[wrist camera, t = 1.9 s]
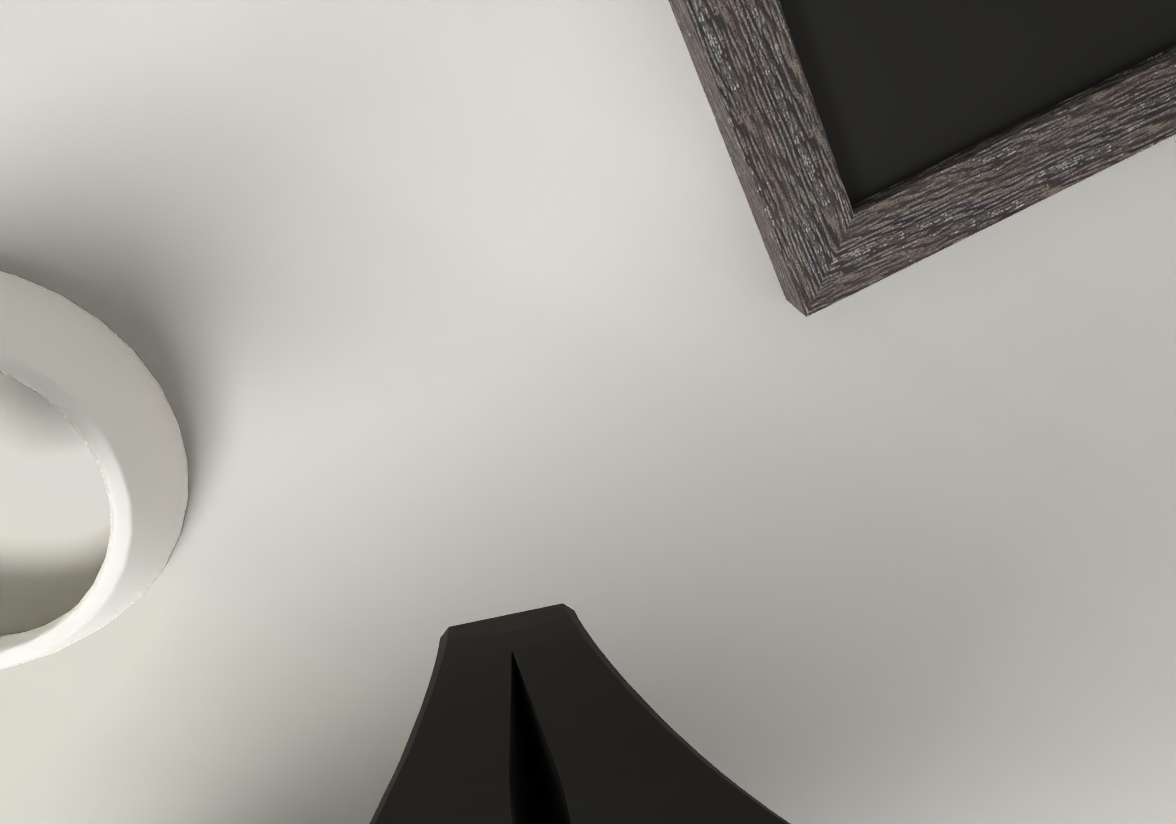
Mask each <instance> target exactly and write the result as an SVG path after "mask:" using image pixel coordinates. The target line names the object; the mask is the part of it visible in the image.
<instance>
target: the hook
mask: <svg viewBox="0 0 1176 824" xmlns="http://www.w3.org/2000/svg"><path fill="white" fill-rule="evenodd" d="M0 371H1V372H3V373H6V374H7V375H9V376H10V377H12V378H14V379H15V380H17V381H19V382H20V383H22V384H24V385H25V386H27V387H29V388H30V389H32V390H34V391H35V392H37V393H38V394H40V395H41V396H42V397H43V398H44V399H45V400H46V401H48V402H49V403H50V404H51V405H52V406H53V407H55V408H56V409H57V410H58V411H59V412H60V413H62V414H63V415H64V416H65V417H66V418H67V420H68V421H69V422H70V423H71V425H72V426H73V427H74V428H75V429H76V431H77V432H78V433H79V434H80V436H81V437H82V438H83V439H84V441H85V442H86V443H87V445H88V447H89V449H90V451H91V453H92V455H93V456H94V458H95V460H96V462H97V464H98V466H99V468H100V470H101V472H102V475H103V479H104V482H105V486H106V490H107V493H108V497H109V500H110V519H111V533H110V538H109V543H108V548H107V553H106V558H105V560H104V562H103V565H102V567H101V569H100V571H99V573H98V575H97V578H96V580H95V582H94V584H93V585H92V587H91V588H90V589H89V590H88V592H87V593H86V594H85V596H84V597H83V598H82V599H81V601H80V602H79V603H78V604H77V606H75V607H74V608H73V609H72V610H71V611H69V612H68V613H66V614H64V615H63V616H61V617H59V618H57V619H55V620H53V621H52V622H50V623H48V624H46V625H44V626H41V627H38V628H35V629H32V630H29V631H26V632H23V633H17V634H10V635H4V636H0V669H4V668H7V667H11V666H15V665H19V664H22V663H25V662H28V661H31V660H34V659H37V658H40V657H43V656H46V655H49V654H52V653H55V652H57V651H59V650H61V649H63V648H65V647H67V646H69V645H71V644H72V643H74V642H76V641H78V640H80V639H82V638H84V637H85V636H87V635H89V634H91V633H93V632H95V631H96V630H98V629H100V628H102V627H104V626H105V625H106V624H108V623H109V622H110V621H112V620H113V619H114V618H115V617H117V616H118V615H119V614H120V613H121V612H123V611H124V610H125V609H126V608H128V607H129V606H130V605H131V604H132V603H134V602H135V601H136V600H137V599H138V598H140V597H141V596H142V595H143V594H144V592H145V591H146V590H147V589H148V587H149V586H150V585H151V584H152V582H153V581H154V580H155V579H156V577H157V576H158V575H159V574H160V572H161V571H162V570H163V569H164V567H165V565H166V563H167V561H168V559H169V557H170V555H171V553H172V551H173V549H174V547H175V545H176V543H177V540H178V538H179V536H180V534H181V529H182V525H183V520H184V515H185V511H186V506H187V502H188V463H187V457H186V453H185V449H184V445H183V441H182V437H181V432H180V428H179V424H178V422H177V420H176V418H175V415H174V413H173V411H172V409H171V407H170V405H169V403H168V401H167V399H166V397H165V395H164V393H163V391H162V389H161V386H160V385H159V384H158V382H157V381H156V380H155V378H154V377H153V376H152V374H151V373H150V372H149V370H148V369H147V368H146V366H145V365H144V364H143V362H142V361H141V360H140V359H139V357H138V356H137V355H136V353H135V352H134V351H133V350H132V349H131V348H130V347H129V346H128V345H127V344H126V343H124V342H123V341H122V340H121V339H120V338H119V337H118V336H117V335H116V334H115V333H114V332H112V331H111V330H110V329H109V328H108V327H107V326H106V325H105V324H104V323H103V322H102V321H100V320H99V319H98V318H96V317H94V316H93V315H91V314H90V313H88V312H87V311H85V310H83V309H82V308H80V307H79V306H77V305H76V304H74V303H73V302H71V301H69V300H68V299H66V298H65V297H63V296H62V295H60V294H58V293H56V292H53V291H51V290H49V289H46V288H44V287H42V286H39V285H37V284H34V283H32V282H30V281H27V280H25V279H23V278H20V277H18V276H16V275H13V274H9V273H5V272H1V271H0Z"/></svg>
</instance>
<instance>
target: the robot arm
mask: <svg viewBox="0 0 1176 824" xmlns="http://www.w3.org/2000/svg"><path fill="white" fill-rule="evenodd" d="M370 824H790V823H789V822H787V821H786V820H784V819H783V818H781V817H780V816H778V815H777V814H775V813H774V812H772V811H771V810H770V809H768V808H767V807H766V806H764V805H763V804H762V803H760V802H759V801H758V800H756V799H755V798H754V797H752V796H751V795H750V794H748V793H747V792H746V791H744V790H743V789H742V788H740V787H739V786H738V785H736V784H735V783H734V782H733V781H731V780H730V779H729V778H728V777H726V776H725V775H724V774H723V773H721V772H720V771H719V770H718V769H717V768H715V767H714V766H713V765H712V764H711V763H710V762H708V761H707V760H706V759H705V758H704V757H703V756H701V755H700V754H699V753H698V752H697V751H696V750H695V749H694V748H693V747H692V746H690V745H689V744H688V743H687V742H686V741H685V740H684V739H683V738H682V737H681V736H679V735H678V734H677V733H676V732H675V731H674V730H673V729H672V728H671V727H670V726H669V725H668V724H667V723H666V722H665V721H664V720H663V719H662V718H661V717H660V716H659V715H658V714H657V713H656V712H655V711H654V710H653V709H652V708H651V707H650V706H649V705H648V704H647V703H646V702H645V701H644V699H643V698H642V697H641V696H640V695H639V694H638V693H637V692H636V691H635V690H634V689H633V688H632V687H631V686H630V685H629V684H628V683H627V681H626V680H625V679H624V678H623V677H622V676H621V675H620V673H619V672H618V671H617V670H616V669H615V668H614V666H613V665H612V664H611V663H610V661H609V660H608V659H607V658H606V656H605V655H604V654H603V653H602V652H601V650H600V649H599V648H598V646H597V645H596V644H595V642H594V641H593V640H592V638H591V637H590V635H589V634H588V633H587V631H586V630H585V628H584V627H583V625H582V624H581V622H580V620H579V619H578V617H577V615H576V613H575V611H574V610H572V609H571V608H569V607H568V606H566V605H564V604H558V605H553V606H548V607H543V608H538V609H534V610H529V611H524V612H519V613H514V614H509V615H505V616H500V617H495V618H490V619H485V620H480V621H476V622H471V623H466V624H461V625H456V626H452V627H449V628H448V629H447V630H446V632H445V633H444V634H443V635H442V637H441V638H440V643H439V649H438V654H437V658H436V662H435V666H434V669H433V673H432V676H431V679H430V682H429V686H428V689H427V692H426V694H425V697H424V700H423V703H422V706H421V709H420V712H419V714H418V717H417V719H416V722H415V724H414V727H413V729H412V732H411V734H410V737H409V739H408V742H407V744H406V747H405V749H404V752H403V754H402V757H401V759H400V762H399V764H398V766H397V768H396V771H395V773H394V775H393V777H392V779H391V781H390V783H389V785H388V787H387V789H386V791H385V793H384V795H383V797H382V799H381V802H380V804H379V806H378V808H377V810H376V812H375V814H374V816H373V818H372V820H371V822H370Z"/></svg>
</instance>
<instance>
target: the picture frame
mask: <svg viewBox="0 0 1176 824" xmlns="http://www.w3.org/2000/svg"><path fill="white" fill-rule="evenodd" d="M669 2H670V5H671V8H672V10H673V13H674V15H675V18H676V20H677V23H678V25H679V28H680V30H681V33H682V36H683V38H684V41H685V43H686V46H687V48H688V51H689V53H690V56H691V58H692V61H693V64H694V66H695V69H696V71H697V74H698V76H699V79H700V81H701V84H702V86H703V89H704V91H705V94H706V97H707V99H708V102H709V104H710V107H711V109H712V112H713V114H714V117H715V119H716V122H717V125H718V127H719V130H720V132H721V135H722V137H723V140H724V142H725V145H726V147H727V150H728V153H729V155H730V158H731V160H732V163H733V165H734V168H735V170H736V173H737V175H738V178H739V180H740V183H741V186H742V188H743V191H744V193H745V196H746V198H747V201H748V203H749V206H750V208H751V211H752V214H753V216H754V219H755V221H756V224H757V226H758V229H759V231H760V234H761V236H762V239H763V242H764V244H765V247H766V249H767V252H768V254H769V257H770V259H771V262H772V264H773V267H774V269H775V272H776V275H777V277H778V280H779V282H780V285H781V287H782V290H783V292H784V295H785V297H786V300H787V301H789V302H790V303H791V304H792V305H793V306H794V307H796V308H797V309H798V310H799V311H800V312H801V313H803V314H804V315H805V316H806V317H807V316H809V315H811V314H813V313H815V312H817V311H819V310H821V309H823V308H825V307H827V306H829V305H831V304H833V303H835V302H837V301H839V300H841V299H843V298H846V297H848V296H850V295H852V294H854V293H856V292H858V291H860V290H862V289H864V288H866V287H868V286H870V285H872V284H874V283H876V282H878V281H880V280H882V279H884V278H886V277H888V276H890V275H892V274H894V273H896V272H898V271H900V270H902V269H904V268H906V267H908V266H910V265H912V264H914V263H916V262H918V261H920V260H922V259H924V258H926V257H928V256H930V255H932V254H934V253H936V252H938V251H940V250H942V249H944V248H947V247H949V246H951V245H953V244H955V243H957V242H959V241H961V240H963V239H965V238H967V237H969V236H971V235H973V234H975V233H977V232H979V231H981V230H983V229H985V228H987V227H989V226H991V225H993V224H995V223H997V222H999V221H1001V220H1003V219H1005V218H1007V217H1009V216H1011V215H1013V214H1015V213H1017V212H1019V211H1021V210H1023V209H1025V208H1027V207H1029V206H1031V205H1033V204H1035V203H1037V202H1039V201H1041V200H1043V199H1045V198H1048V197H1050V196H1052V195H1054V194H1056V193H1058V192H1060V191H1062V190H1064V189H1066V188H1068V187H1070V186H1072V185H1074V184H1076V183H1078V182H1080V181H1082V180H1084V179H1086V178H1088V177H1090V176H1092V175H1094V174H1096V173H1098V172H1100V171H1102V170H1104V169H1106V168H1108V167H1110V166H1112V165H1114V164H1116V163H1118V162H1120V161H1122V160H1124V159H1126V158H1128V157H1130V156H1132V155H1134V154H1136V153H1138V152H1140V151H1142V150H1144V149H1146V148H1149V147H1151V146H1153V145H1155V144H1157V143H1159V142H1161V141H1163V140H1165V139H1167V138H1169V137H1171V136H1173V135H1175V134H1176V0H669Z"/></svg>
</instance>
